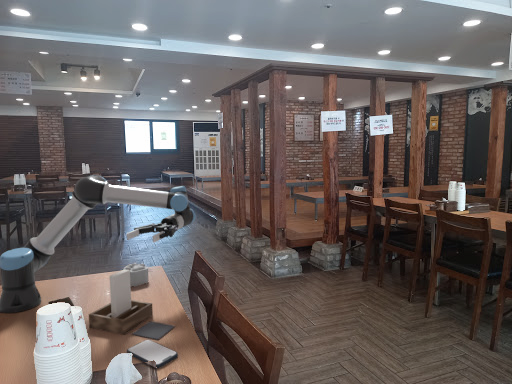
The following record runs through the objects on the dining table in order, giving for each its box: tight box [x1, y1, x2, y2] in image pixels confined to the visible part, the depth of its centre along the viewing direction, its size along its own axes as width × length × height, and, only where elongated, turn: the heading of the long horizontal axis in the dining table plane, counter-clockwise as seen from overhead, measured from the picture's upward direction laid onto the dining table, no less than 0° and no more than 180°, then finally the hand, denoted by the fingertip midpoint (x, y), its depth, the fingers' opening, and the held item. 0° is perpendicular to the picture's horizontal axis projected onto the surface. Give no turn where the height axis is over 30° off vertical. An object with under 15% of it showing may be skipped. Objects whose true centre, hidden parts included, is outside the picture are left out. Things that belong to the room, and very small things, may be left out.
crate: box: [88, 299, 154, 336], centre depth 135 cm, size 16×16×5 cm
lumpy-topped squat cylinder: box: [123, 262, 150, 287], centre depth 177 cm, size 10×13×9 cm
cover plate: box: [109, 268, 132, 318], centre depth 134 cm, size 2×8×18 cm, turn 159°
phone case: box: [126, 339, 179, 370], centre depth 112 cm, size 9×2×16 cm
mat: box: [131, 320, 176, 341], centre depth 127 cm, size 11×10×1 cm
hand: (140, 237), depth 145 cm, fingers open, 13 cm apart
